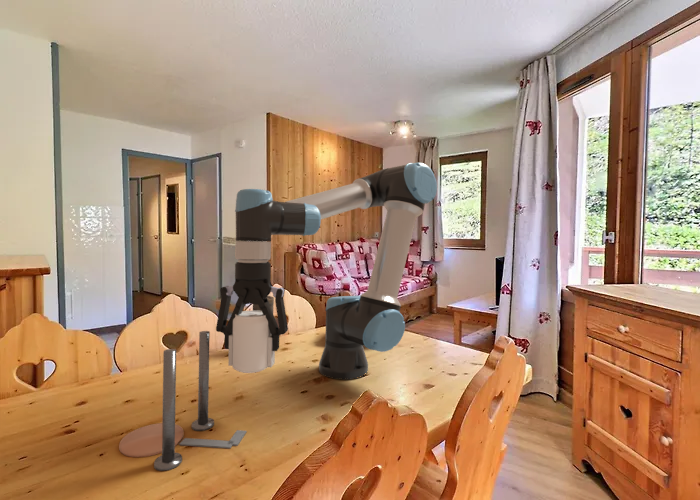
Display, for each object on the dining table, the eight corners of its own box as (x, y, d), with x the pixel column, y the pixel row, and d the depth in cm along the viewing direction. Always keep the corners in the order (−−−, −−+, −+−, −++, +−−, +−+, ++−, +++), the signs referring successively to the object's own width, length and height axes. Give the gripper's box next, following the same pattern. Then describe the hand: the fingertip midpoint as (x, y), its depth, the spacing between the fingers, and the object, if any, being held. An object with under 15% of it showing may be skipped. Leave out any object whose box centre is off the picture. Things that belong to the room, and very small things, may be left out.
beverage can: (236, 361, 83) (237, 309, 83) (272, 361, 84) (273, 310, 83) (228, 374, 75) (228, 317, 75) (267, 374, 76) (268, 317, 75)
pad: (193, 427, 76) (193, 424, 76) (163, 459, 65) (163, 455, 65) (143, 424, 76) (143, 421, 76) (104, 455, 65) (104, 451, 65)
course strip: (246, 432, 74) (246, 430, 74) (235, 448, 69) (235, 447, 68) (194, 428, 75) (194, 427, 75) (179, 445, 69) (179, 443, 69)
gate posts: (217, 421, 79) (219, 329, 78) (173, 471, 61) (175, 355, 61) (197, 419, 79) (199, 329, 78) (148, 470, 62) (150, 354, 61)
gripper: (303, 261, 82) (301, 360, 82) (214, 259, 83) (213, 356, 84) (296, 263, 74) (294, 372, 75) (198, 260, 76) (197, 368, 76)
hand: (251, 364), depth 79 cm, fingers closed on beverage can, 8 cm apart
